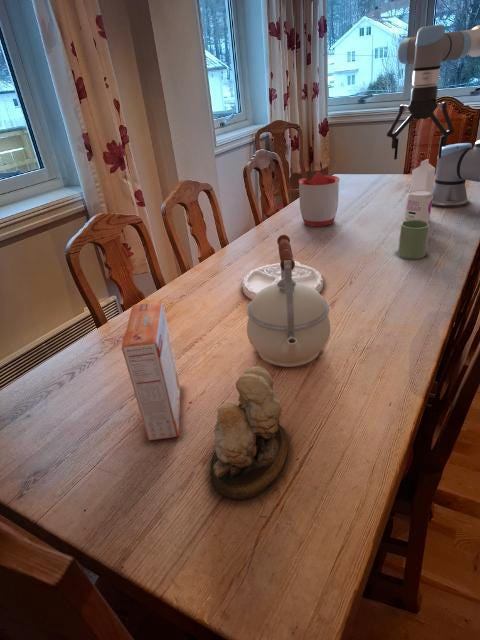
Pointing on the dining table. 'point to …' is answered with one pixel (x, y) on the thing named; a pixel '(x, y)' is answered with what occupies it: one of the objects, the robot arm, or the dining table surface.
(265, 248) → the dining table surface
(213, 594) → the dining table surface
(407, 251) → the green cup
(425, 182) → the milk
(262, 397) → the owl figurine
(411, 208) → the supplement can
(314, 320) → the kettle
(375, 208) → the dining table surface
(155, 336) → the cracker box
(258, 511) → the dining table surface
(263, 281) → the divided serving plate
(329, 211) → the citrus juicer
